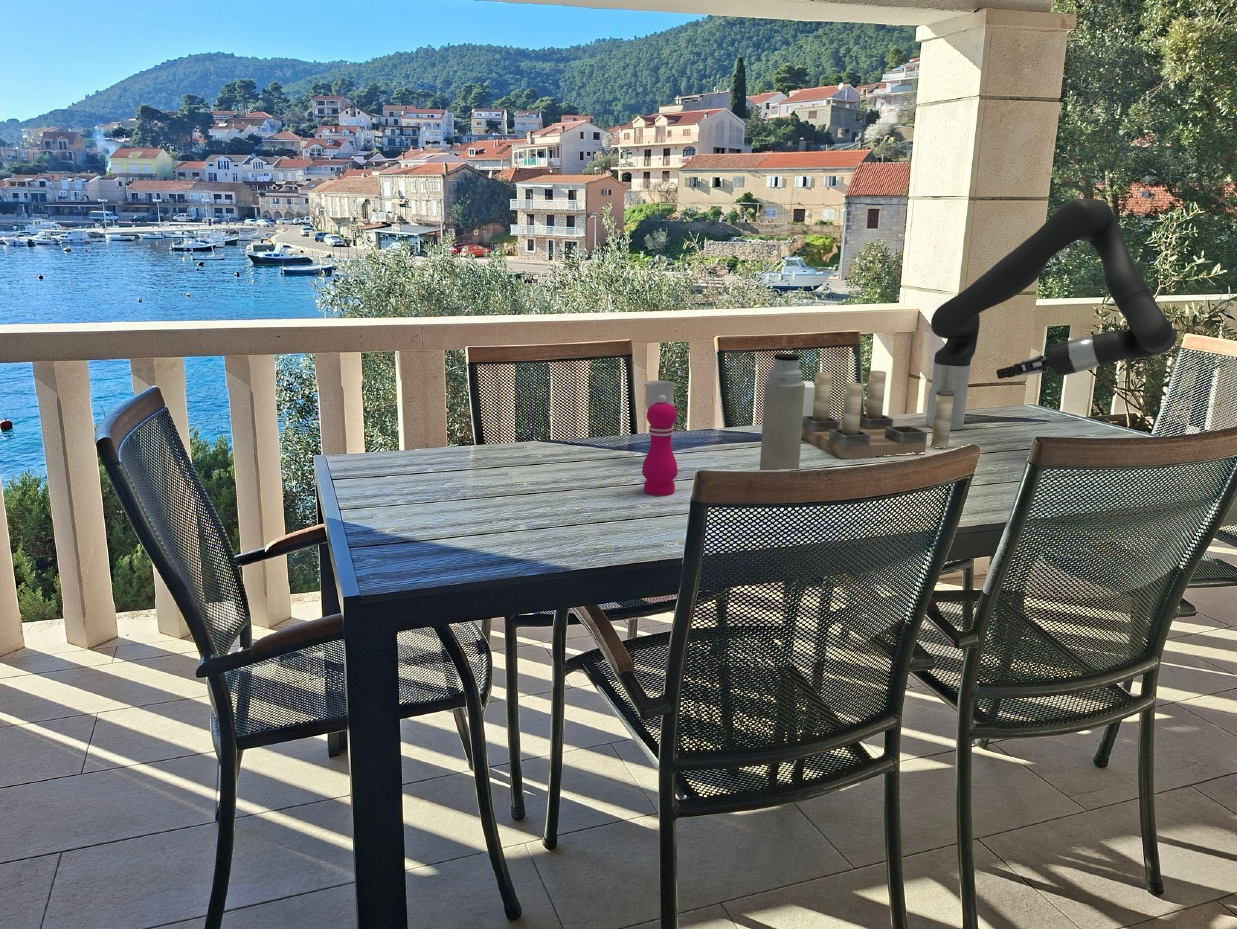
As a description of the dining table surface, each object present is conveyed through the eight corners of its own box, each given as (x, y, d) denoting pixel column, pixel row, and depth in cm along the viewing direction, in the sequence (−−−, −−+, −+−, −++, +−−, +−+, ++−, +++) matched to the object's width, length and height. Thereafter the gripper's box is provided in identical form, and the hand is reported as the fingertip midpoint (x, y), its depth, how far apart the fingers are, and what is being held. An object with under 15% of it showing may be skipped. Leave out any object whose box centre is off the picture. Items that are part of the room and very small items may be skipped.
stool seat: (800, 437, 242) (804, 371, 238) (877, 433, 248) (883, 369, 243) (842, 459, 222) (848, 387, 217) (924, 454, 227) (932, 384, 223)
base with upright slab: (787, 424, 257) (790, 380, 254) (821, 425, 256) (824, 382, 253) (788, 431, 248) (791, 386, 245) (823, 433, 247) (826, 388, 244)
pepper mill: (663, 498, 189) (666, 399, 183) (634, 491, 193) (636, 395, 188) (683, 490, 194) (687, 394, 189) (654, 484, 198) (657, 390, 193)
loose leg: (927, 445, 236) (933, 390, 233) (941, 444, 237) (948, 389, 234) (937, 449, 233) (943, 393, 229) (951, 448, 234) (958, 392, 230)
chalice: (677, 459, 218) (680, 382, 214) (666, 466, 212) (669, 387, 208) (648, 455, 221) (650, 379, 217) (636, 462, 215) (638, 384, 211)
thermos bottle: (768, 480, 203) (776, 350, 195) (803, 487, 199) (813, 353, 191) (752, 489, 196) (760, 354, 189) (788, 496, 192) (798, 358, 185)
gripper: (1076, 339, 221) (1005, 358, 231) (1064, 339, 210) (990, 359, 219) (1084, 371, 221) (1012, 388, 230) (1073, 372, 209) (998, 390, 219)
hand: (1002, 374), depth 225 cm, fingers open, 8 cm apart
